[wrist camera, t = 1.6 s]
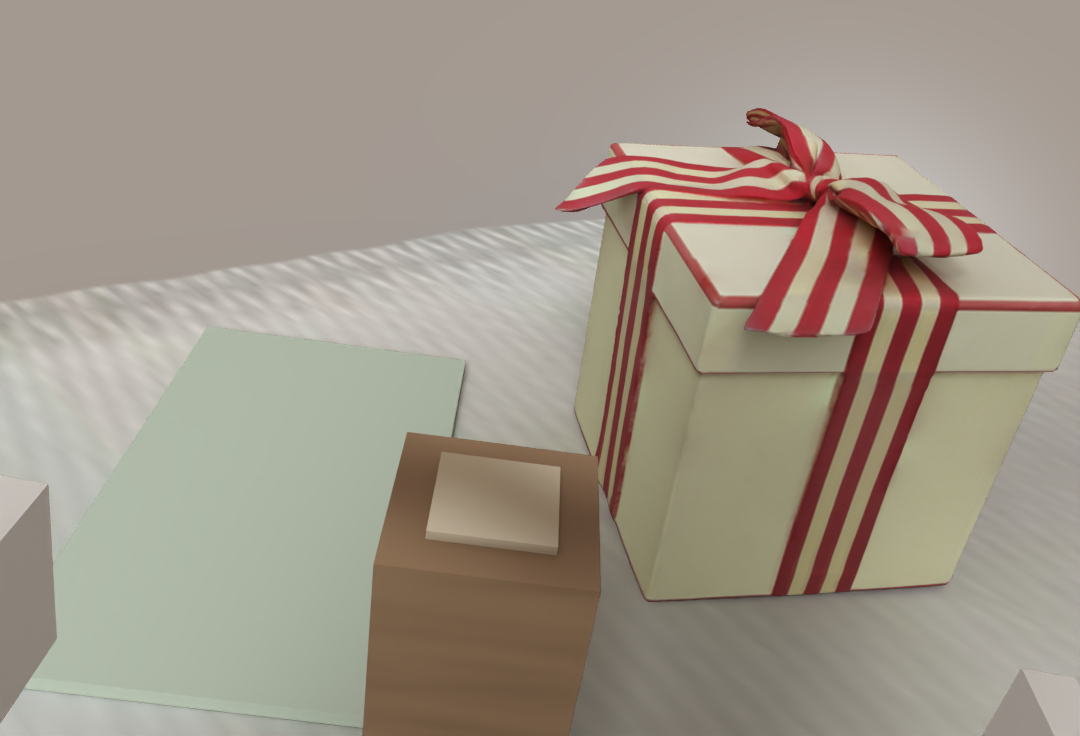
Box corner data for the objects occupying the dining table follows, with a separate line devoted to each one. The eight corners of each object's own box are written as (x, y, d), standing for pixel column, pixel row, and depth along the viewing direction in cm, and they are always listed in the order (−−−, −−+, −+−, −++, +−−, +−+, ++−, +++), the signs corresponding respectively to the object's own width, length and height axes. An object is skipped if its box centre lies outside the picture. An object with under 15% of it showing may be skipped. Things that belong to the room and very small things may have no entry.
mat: (396, 731, 35) (397, 720, 35) (-14, 683, 34) (-17, 671, 34) (464, 369, 55) (465, 360, 55) (208, 335, 55) (207, 326, 55)
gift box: (494, 411, 53) (538, 83, 44) (804, 396, 58) (900, 101, 49) (597, 663, 39) (692, 261, 30) (991, 612, 44) (1169, 259, 36)
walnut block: (521, 942, 29) (602, 583, 22) (350, 923, 29) (373, 555, 22) (529, 792, 34) (599, 448, 26) (379, 774, 34) (407, 423, 26)
